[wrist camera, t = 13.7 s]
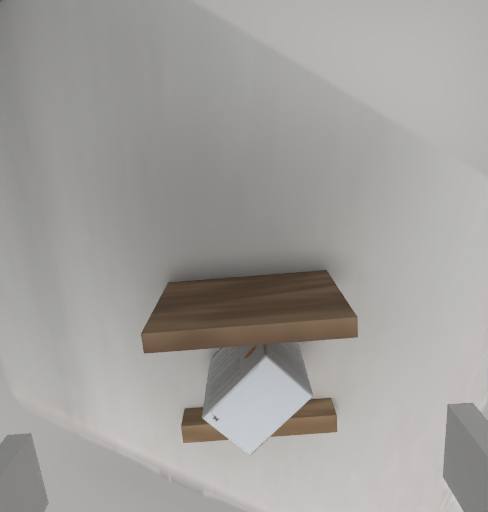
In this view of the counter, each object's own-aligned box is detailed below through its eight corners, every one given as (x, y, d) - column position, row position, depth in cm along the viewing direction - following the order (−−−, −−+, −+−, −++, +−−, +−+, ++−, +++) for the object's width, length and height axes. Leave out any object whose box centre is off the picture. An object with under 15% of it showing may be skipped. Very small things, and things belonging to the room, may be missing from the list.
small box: (247, 390, 47) (248, 459, 36) (208, 358, 46) (199, 420, 35) (299, 340, 45) (315, 398, 35) (260, 306, 44) (266, 355, 34)
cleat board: (168, 282, 43) (141, 333, 32) (326, 270, 43) (357, 317, 32) (187, 424, 48) (169, 515, 36) (331, 414, 47) (360, 502, 36)
